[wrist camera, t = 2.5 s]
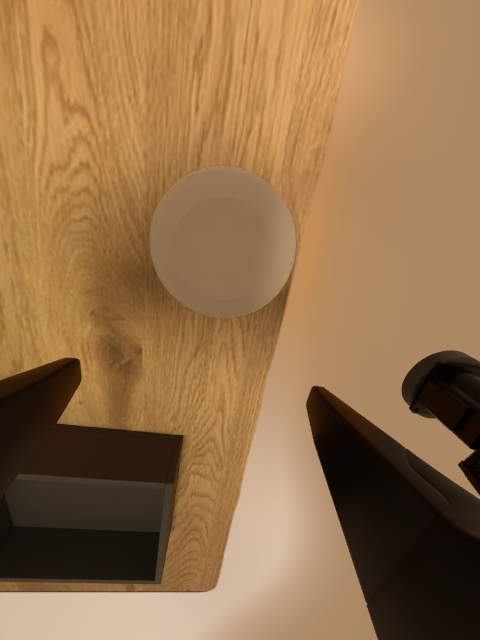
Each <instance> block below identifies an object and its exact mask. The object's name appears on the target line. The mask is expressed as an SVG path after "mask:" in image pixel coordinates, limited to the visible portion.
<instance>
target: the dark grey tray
mask: <svg viewBox="0 0 480 640" xmlns="http://www.w3.org/2000/svg"><path fill="white" fill-rule="evenodd" d="M182 442H183V436H177V435H166V434H155V433H145V432H134V431H123V430H112V429H102V428H91V427H80V426H69V425H59V424H55V426H54V427H53V428H52V430H51V431H50V433H49V434H48V435H47V437H46V438H45V439H44V441H43V442H42V443H41V445H40V446H39V447H38V449H37V450H36V451H35V453H34V454H33V455H32V457H31V458H30V460H29V461H28V462H27V464H26V465H25V466H24V468H23V469H22V470H21V472H20V473H19V474H18V476H17V477H16V478H15V480H14V481H13V483H12V484H11V485H10V487H9V488H8V489H7V491H6V492H5V493H4V495H3V496H2V497H1V499H0V582H55V583H115V584H154V583H155V584H161V580H162V574H163V569H164V564H165V558H166V553H167V547H168V542H169V536H170V530H171V523H172V516H173V508H174V501H175V494H176V486H177V479H178V472H179V464H180V457H181V450H182Z"/></svg>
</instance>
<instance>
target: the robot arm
mask: <svg viewBox="0 0 480 640" xmlns="http://www.w3.org/2000/svg"><path fill="white" fill-rule="evenodd" d="M80 382H81V366H80V361H79V360H78V359H76V358H63V359H60V360H57V361H54V362H52V363H49V364H46V365H43V366H40V367H37V368H34V369H31V370H29V371H26V372H23V373H20V374H17V375H14V376H11V377H8V378H6V379H3V380H0V499H1V497H2V496H3V495H4V493H5V492H6V491H7V489H8V488H9V487H10V485H11V484H12V483H13V481H14V480H15V478H16V477H17V476H18V474H19V473H20V472H21V470H22V469H23V468H24V466H25V465H26V464H27V462H28V461H29V460H30V458H31V457H32V455H33V454H34V453H35V451H36V450H37V449H38V447H39V446H40V445H41V443H42V442H43V441H44V439H45V438H46V437H47V435H48V434H49V433H50V431H51V430H52V428H53V427H54V426H55V424H56V423H57V421H58V420H59V418H60V417H61V415H62V413H63V412H64V410H65V408H66V407H67V405H68V403H69V402H70V400H71V398H72V396H73V395H74V393H75V391H76V390H77V388H78V386H79V385H80ZM306 407H307V412H308V417H309V422H310V426H311V431H312V435H313V439H314V444H315V447H316V450H317V453H318V457H319V460H320V463H321V466H322V469H323V472H324V475H325V478H326V481H327V484H328V487H329V490H330V493H331V496H332V499H333V503H334V506H335V508H336V512H337V515H338V518H339V521H340V524H341V527H342V530H343V533H344V536H345V539H346V543H347V546H348V549H349V552H350V555H351V558H352V561H353V564H354V567H355V570H356V573H357V576H358V579H359V582H360V585H361V589H362V592H363V594H364V598H365V601H366V603H368V604H367V608H368V611H369V614H370V617H371V620H372V623H373V626H374V629H375V632H376V635H377V638H378V640H480V499H478V498H477V497H475V496H474V495H472V494H471V493H469V492H468V491H466V490H465V489H463V488H462V487H460V486H459V485H457V484H456V483H454V482H453V481H451V480H450V479H449V478H447V477H446V476H444V475H443V474H441V473H440V472H438V471H437V470H435V469H434V468H433V467H431V466H430V465H428V464H427V463H426V462H424V461H423V460H422V459H420V458H419V457H417V456H416V455H415V454H413V453H412V452H411V451H409V450H408V449H405V447H404V446H402V445H401V444H400V443H398V442H397V441H396V440H394V439H393V438H391V437H390V436H389V435H387V434H386V433H385V432H383V431H382V430H381V429H379V428H378V427H377V426H375V425H374V424H373V423H371V422H370V421H368V420H367V419H366V418H364V417H363V416H362V415H360V414H359V413H358V412H356V411H355V410H354V409H352V408H351V407H349V406H348V405H347V404H345V403H344V402H343V401H341V400H340V399H338V398H337V397H336V396H335V395H333V394H332V393H330V392H329V391H328V390H326V389H325V388H324V387H319V386H313V387H312V389H311V391H310V394H309V396H308V399H307V403H306ZM409 409H410V410H411V411H412V412H413V413H417V414H425V415H433V416H435V417H436V418H437V419H438V420H439V421H440V422H441V423H442V424H443V425H444V426H446V427H447V428H448V429H449V430H451V431H452V432H453V433H454V434H455V435H456V436H457V437H458V438H459V439H460V440H461V441H463V442H464V443H465V444H466V445H467V446H468V447H469V448H470V449H473V450H474V452H473V453H472V454H471V455H470V456H469V457H467V459H465V460H464V461H461V462H460V463H459V464H458V466H459V467H460V468H461V470H462V471H463V472H464V475H465V476H466V477H467V479H468V480H469V482H470V483H471V484H472V486H473V487H474V488H475V490H476V491H477V492H478V494H479V495H480V367H478V366H472V365H465V364H459V363H452V362H445V361H438V362H436V363H435V364H434V366H433V368H432V369H431V371H430V373H429V375H428V376H427V378H426V380H425V381H424V383H423V385H422V386H421V388H420V390H419V392H418V393H417V395H416V397H415V398H414V400H413V402H412V403H411V405H410V407H409Z"/></svg>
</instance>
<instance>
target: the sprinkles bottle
mask: <svg viewBox="0 0 480 640" xmlns="http://www.w3.org/2000/svg"><path fill="white" fill-rule="evenodd" d="M150 253H151V258H152V262H153V265H154V268H155V270H156V273H157V275H158V277H159V279H160V281H161V283H162V284H163V286H164V287H165V288H166V290H167V291H168V292H169V293H170V294H171V295H172V296H173V297H174V298H175V299H176V300H177V301H178V302H179V303H181V304H182V305H183V306H184V307H186V308H188V309H190V310H192V311H194V312H196V313H198V314H201V315H204V316H207V317H212V318H224V319H225V318H237V317H240V316H245V315H248V314H251V313H253V312H255V311H257V310H259V309H261V308H262V307H264V306H265V305H267V304H268V303H269V302H270V301H271V300H272V299H273V298H275V297H276V296H277V295H278V293H279V292H280V291H281V289H282V288H283V287H284V285H285V283H286V282H287V280H288V278H289V275H290V273H291V271H292V268H293V265H294V260H295V255H296V233H295V227H294V222H293V219H292V216H291V214H290V211H289V209H288V207H287V205H286V204H285V202H284V200H283V199H282V197H281V196H280V194H279V193H278V192H277V191H276V190H275V189H274V188H273V187H272V186H271V185H270V184H269V183H268V182H267V181H265V180H264V179H262V178H261V177H259V176H258V175H256V174H254V173H252V172H250V171H247V170H245V169H242V168H238V167H233V166H218V165H217V166H209V167H204V168H201V169H198V170H195V171H193V172H191V173H189V174H187V175H185V176H184V177H182V178H181V179H179V180H178V181H177V182H176V183H174V184H173V185H172V186H171V187H170V188H169V189H168V191H167V192H166V193H165V194H164V196H163V197H162V198H161V200H160V202H159V204H158V206H157V208H156V210H155V213H154V216H153V219H152V222H151V228H150Z"/></svg>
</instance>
